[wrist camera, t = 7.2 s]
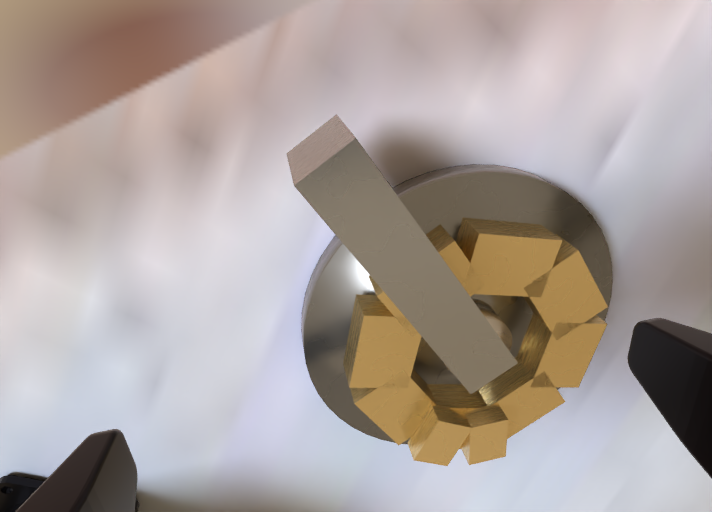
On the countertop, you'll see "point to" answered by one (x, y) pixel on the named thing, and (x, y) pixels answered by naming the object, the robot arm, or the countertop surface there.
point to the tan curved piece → (448, 309)
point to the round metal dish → (447, 207)
